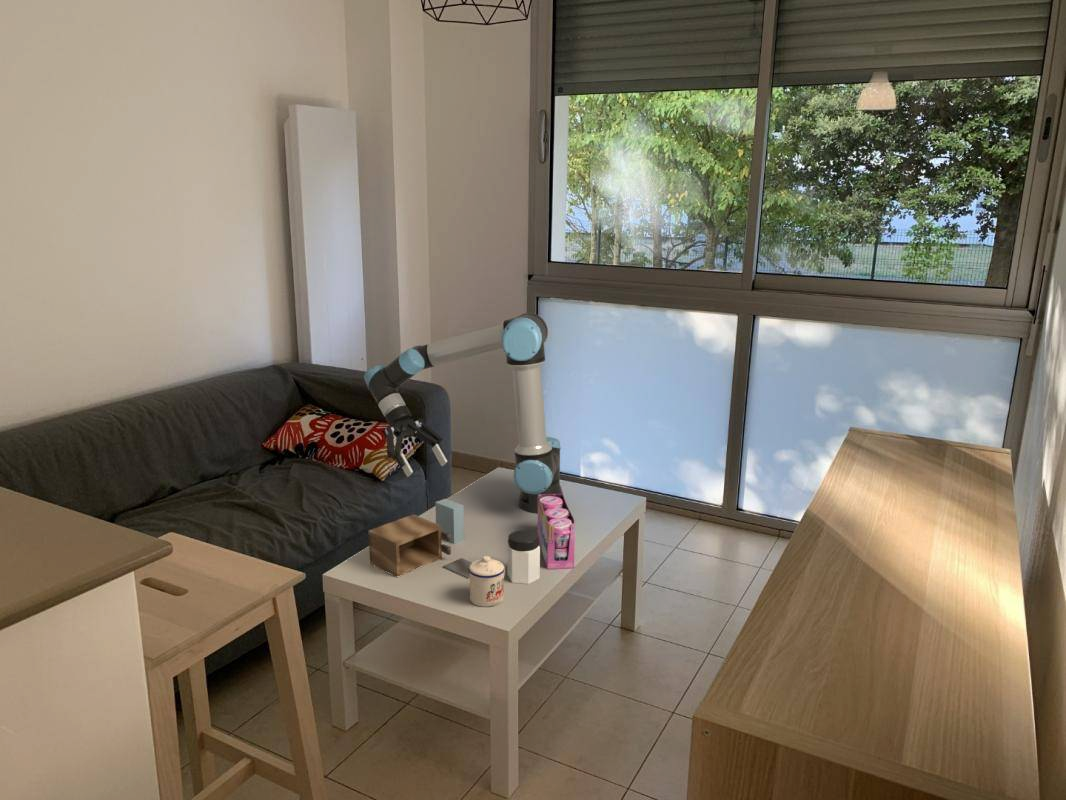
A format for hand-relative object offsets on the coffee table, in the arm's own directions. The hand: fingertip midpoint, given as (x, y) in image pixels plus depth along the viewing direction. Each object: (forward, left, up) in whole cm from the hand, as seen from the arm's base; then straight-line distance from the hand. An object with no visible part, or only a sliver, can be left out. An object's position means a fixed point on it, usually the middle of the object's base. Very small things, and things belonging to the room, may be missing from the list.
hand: (427, 469), depth 249 cm
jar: (-33, +28, -19) cm, 48 cm away
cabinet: (-6, +26, -19) cm, 33 cm away
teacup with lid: (-26, +40, -19) cm, 52 cm away
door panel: (-8, +6, -19) cm, 22 cm away
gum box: (-40, +11, -19) cm, 46 cm away
